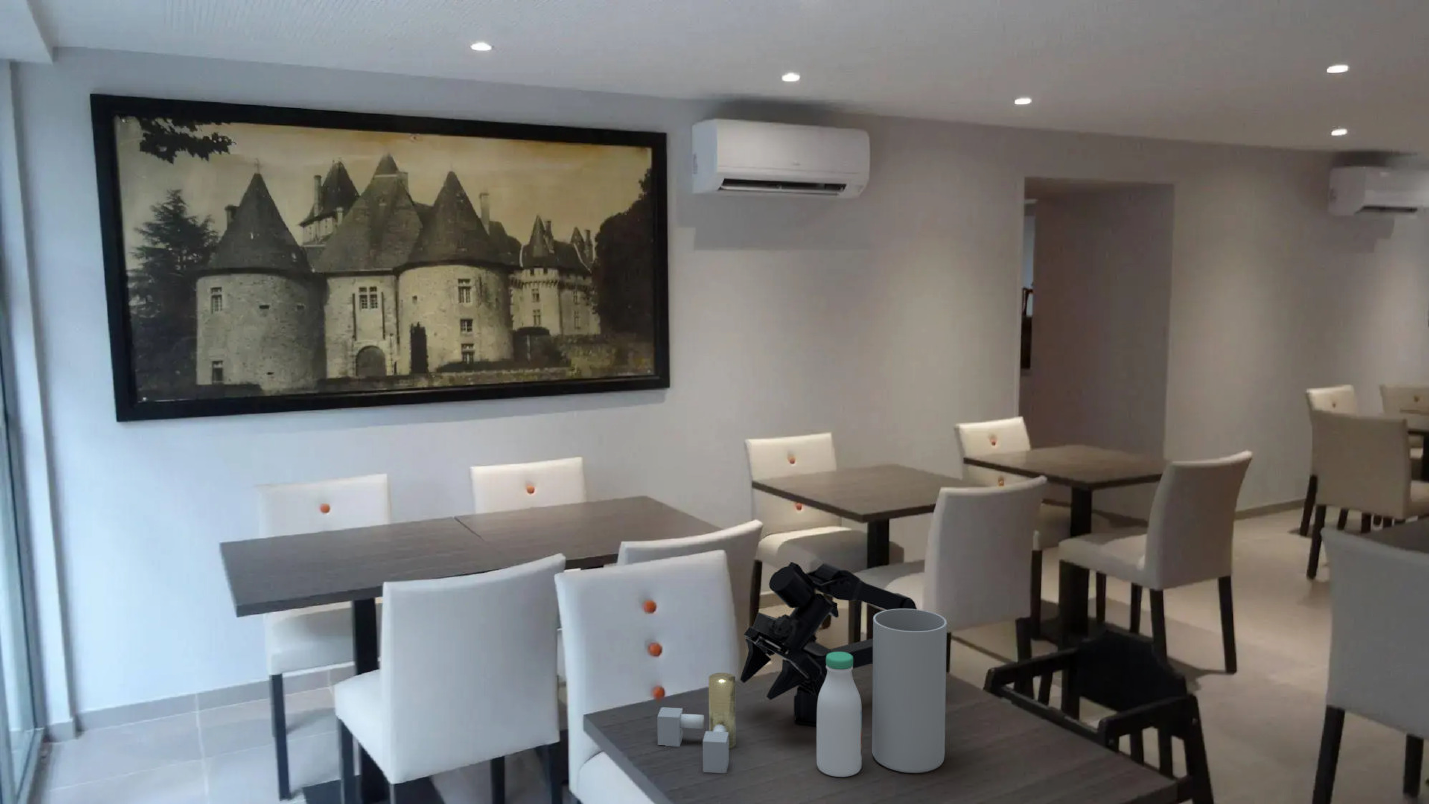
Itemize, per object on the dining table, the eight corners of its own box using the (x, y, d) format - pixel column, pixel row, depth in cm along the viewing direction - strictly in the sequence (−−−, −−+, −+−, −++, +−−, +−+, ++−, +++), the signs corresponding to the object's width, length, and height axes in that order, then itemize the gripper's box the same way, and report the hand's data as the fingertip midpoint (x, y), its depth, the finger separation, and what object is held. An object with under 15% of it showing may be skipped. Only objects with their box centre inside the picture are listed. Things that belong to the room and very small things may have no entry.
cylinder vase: (902, 781, 163) (903, 636, 160) (857, 751, 174) (858, 615, 171) (959, 764, 169) (962, 624, 166) (913, 736, 180) (915, 604, 177)
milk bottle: (860, 780, 163) (861, 665, 161) (814, 776, 165) (814, 662, 163) (862, 759, 171) (863, 648, 169) (818, 755, 172) (819, 646, 170)
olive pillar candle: (730, 736, 180) (730, 671, 179) (739, 747, 176) (738, 680, 174) (705, 739, 179) (705, 674, 178) (713, 751, 174) (713, 684, 173)
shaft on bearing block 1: (657, 745, 177) (657, 716, 176) (661, 735, 181) (661, 707, 180) (701, 747, 176) (701, 718, 175) (704, 737, 180) (704, 709, 179)
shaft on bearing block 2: (726, 773, 166) (726, 742, 166) (703, 771, 167) (702, 741, 166) (731, 752, 174) (730, 723, 173) (708, 751, 174) (708, 722, 174)
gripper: (752, 584, 189) (703, 650, 185) (807, 610, 173) (755, 682, 168) (786, 617, 194) (738, 681, 189) (843, 645, 177) (793, 716, 173)
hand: (754, 689), depth 180 cm, fingers open, 9 cm apart
